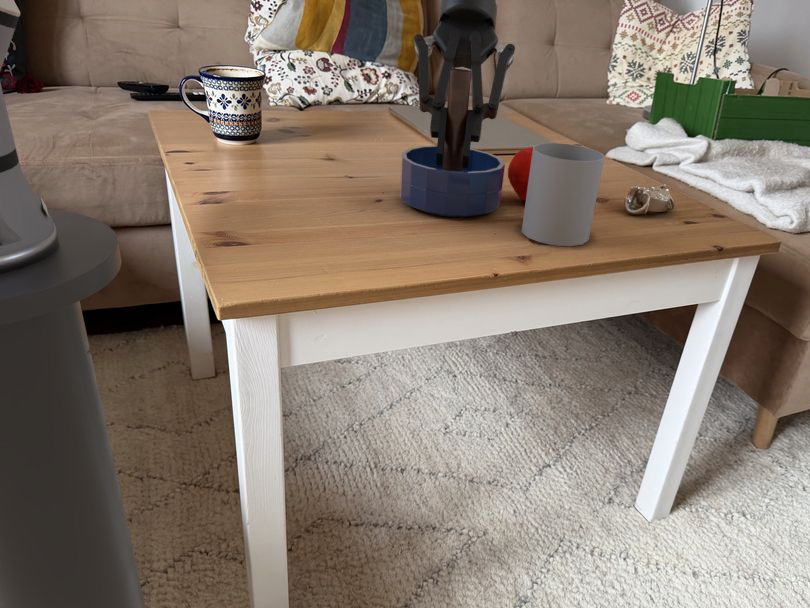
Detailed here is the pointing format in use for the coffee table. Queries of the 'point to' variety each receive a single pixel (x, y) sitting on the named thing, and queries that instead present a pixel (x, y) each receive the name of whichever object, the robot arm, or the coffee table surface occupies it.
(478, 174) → the bowl
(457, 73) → the cylinder with round base
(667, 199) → the ornament
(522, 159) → the apple
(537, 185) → the cup
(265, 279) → the coffee table surface
